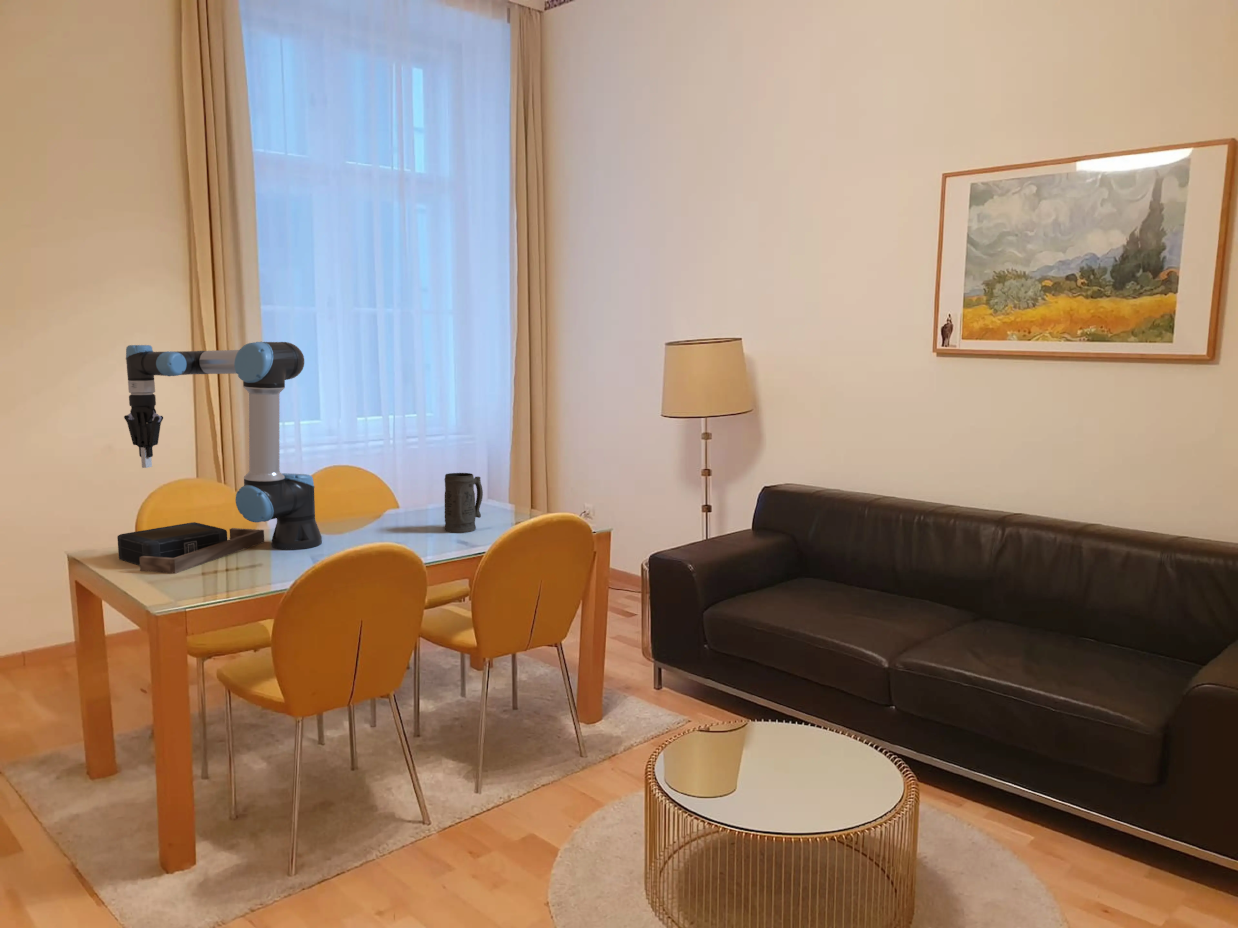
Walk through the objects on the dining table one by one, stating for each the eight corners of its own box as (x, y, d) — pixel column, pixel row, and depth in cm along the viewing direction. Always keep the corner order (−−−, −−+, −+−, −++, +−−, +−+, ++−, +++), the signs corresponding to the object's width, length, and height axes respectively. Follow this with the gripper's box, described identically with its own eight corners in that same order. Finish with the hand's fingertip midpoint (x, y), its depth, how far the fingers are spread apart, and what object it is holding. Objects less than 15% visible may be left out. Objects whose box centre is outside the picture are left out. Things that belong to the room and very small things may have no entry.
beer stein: (460, 534, 310) (461, 476, 308) (436, 530, 315) (438, 473, 314) (489, 529, 323) (491, 473, 321) (466, 526, 328) (467, 470, 327)
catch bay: (264, 541, 297) (263, 529, 297) (175, 573, 258) (174, 559, 257) (233, 539, 300) (232, 527, 299) (140, 570, 260) (139, 557, 260)
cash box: (150, 570, 262) (148, 543, 261) (116, 559, 274) (114, 534, 273) (231, 553, 282) (230, 529, 281) (196, 544, 294) (195, 521, 293)
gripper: (115, 394, 288) (120, 468, 292) (150, 395, 285) (155, 469, 289) (133, 392, 296) (138, 464, 299) (167, 393, 293) (172, 466, 296)
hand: (146, 467), depth 294 cm, fingers closed
